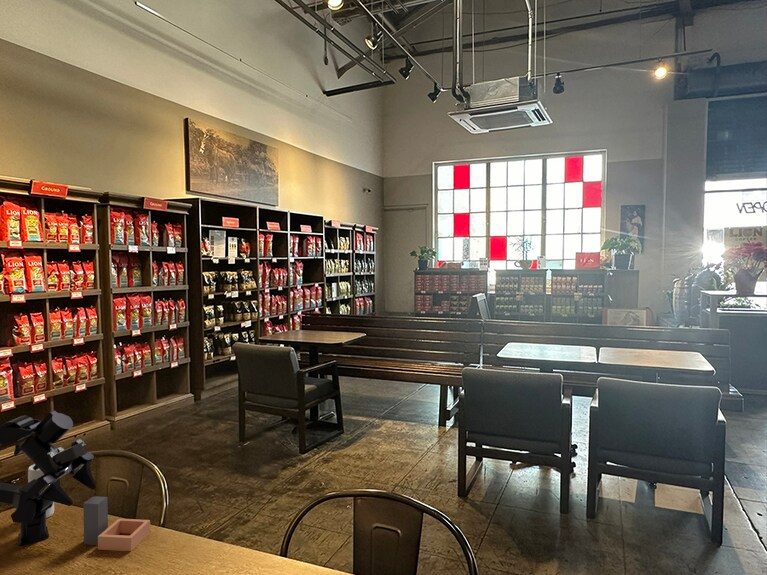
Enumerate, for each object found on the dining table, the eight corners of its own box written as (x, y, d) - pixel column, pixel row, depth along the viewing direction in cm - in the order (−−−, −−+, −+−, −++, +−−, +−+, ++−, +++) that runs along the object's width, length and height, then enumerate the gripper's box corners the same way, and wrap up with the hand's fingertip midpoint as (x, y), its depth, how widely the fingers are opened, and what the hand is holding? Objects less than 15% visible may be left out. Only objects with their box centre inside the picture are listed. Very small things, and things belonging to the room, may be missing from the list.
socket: (98, 549, 127) (97, 536, 127) (119, 530, 136) (119, 518, 136) (131, 551, 126) (131, 538, 126) (150, 532, 135) (150, 520, 135)
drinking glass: (42, 523, 140) (41, 471, 139) (22, 520, 141) (21, 469, 140) (62, 511, 146) (61, 462, 146) (43, 508, 148) (42, 460, 147)
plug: (84, 544, 129) (83, 503, 129) (94, 535, 133) (93, 496, 133) (98, 544, 129) (97, 504, 129) (108, 536, 133) (107, 496, 133)
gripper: (36, 447, 121) (80, 492, 121) (87, 423, 140) (124, 462, 140) (7, 477, 122) (50, 522, 122) (61, 449, 141) (98, 488, 141)
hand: (83, 496), depth 131 cm, fingers open, 9 cm apart
